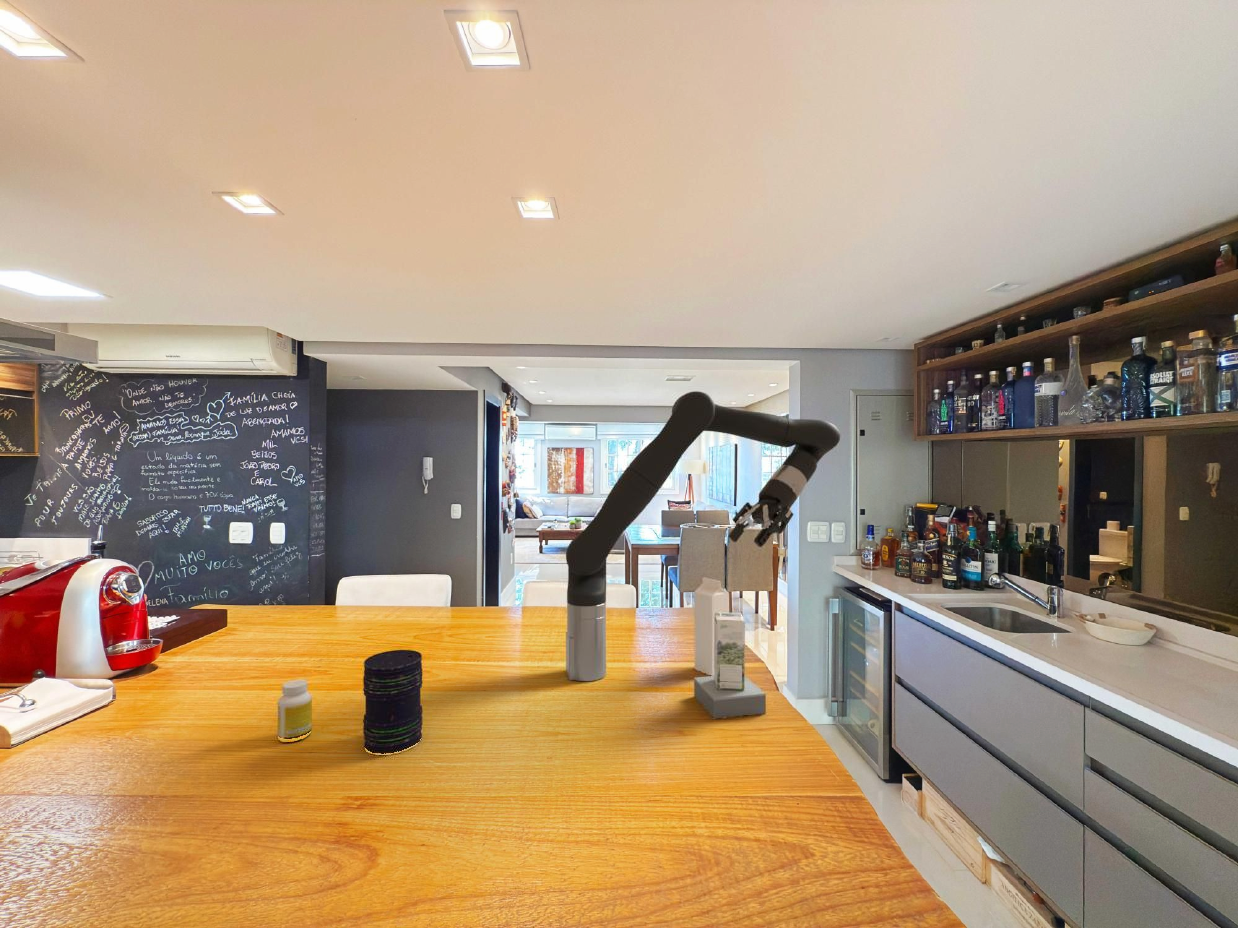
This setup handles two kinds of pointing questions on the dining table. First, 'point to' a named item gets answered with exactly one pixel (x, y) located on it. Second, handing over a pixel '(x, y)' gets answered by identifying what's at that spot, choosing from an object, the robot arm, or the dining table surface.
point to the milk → (707, 621)
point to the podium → (729, 698)
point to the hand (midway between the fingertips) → (744, 541)
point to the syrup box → (729, 651)
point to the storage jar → (392, 701)
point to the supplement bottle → (294, 710)
